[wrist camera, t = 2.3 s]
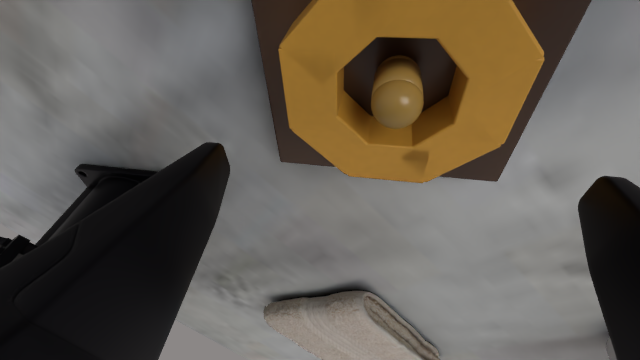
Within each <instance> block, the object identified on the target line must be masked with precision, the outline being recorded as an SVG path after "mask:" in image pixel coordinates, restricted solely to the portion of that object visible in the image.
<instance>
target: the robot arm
mask: <svg viewBox="0 0 640 360" xmlns="http://www.w3.org/2000/svg"><path fill="white" fill-rule="evenodd" d="M75 172H76V174H77V175H78V176H79V177H80V179H81V180H82V181H83V182H84V183H85V185H86V186H87V188H86V189H85V191H84V192H83V193H82V194H81V195H80V196H79V197H78V198H77V199H76V200H75V201H74V203H73V204H72V205H71V206H70V207H69V208H68V209H67V210H66V211H65V212H64V214H63V215H62V216H61V217H60V218H59V219H58V220H57V221H56V222H55V223H54V225H53V226H52V227H51V228H50V229H49V230H48V231H47V232H46V233H45V234H44V236H43V237H42V238H41V239H40V240H39V241H38V242H37V243H36V244H35V245H34V244H32V243H30V242H29V241H30V240H29V239H27V238H25V237H23V236H21V235H18V236H17V237H15V238H14V239H13V240H11V239H9V238H3V237H0V360H158V359H159V356H160V354H161V351H162V349H163V347H164V344H165V342H166V340H167V337H168V335H169V332H170V330H171V328H172V325H173V323H174V320H175V318H176V316H177V313H178V311H179V309H180V306H181V304H182V301H183V299H184V297H185V294H186V292H187V290H188V287H189V285H190V282H191V280H192V278H193V275H194V273H195V270H196V268H197V266H198V263H199V261H200V259H201V256H202V254H203V251H204V249H205V247H206V244H207V242H208V240H209V237H210V235H211V232H212V230H213V227H214V225H215V222H216V219H217V216H218V213H219V210H220V206H221V203H222V199H223V196H224V192H225V189H226V185H227V182H228V178H229V175H230V165H229V162H228V159H227V156H226V153H225V150H224V147H223V146H222V144H220V143H212V142H206V143H204V144H202V145H201V146H199V147H197V148H196V149H194V150H193V151H191V152H189V153H188V154H186V155H185V156H183V157H181V158H180V159H178V160H177V161H175V162H174V163H172V164H170V165H169V166H167V167H166V168H164V169H162V170H161V171H159V172H154V171H144V170H135V169H125V168H115V167H106V166H96V165H86V164H80V165H79V166H78V167H77V168H76V169H75ZM578 212H579V218H580V223H581V229H582V235H583V240H584V246H585V252H586V257H587V262H588V267H589V271H590V274H591V278H592V281H593V284H594V288H595V291H596V294H597V297H598V301H599V304H600V307H601V310H602V313H603V317H604V320H605V323H606V326H607V329H608V333H609V336H610V339H611V342H612V346H613V349H614V352H615V355H616V358H617V360H640V188H639V187H638V186H636V185H635V184H633V183H632V182H630V181H629V180H627V179H625V178H621V177H610V176H603V177H600V178H598V179H597V180H596V181H595V182H594V183H593V185H592V186H591V187H590V188H589V189H588V190H587V192H586V193H585V194H584V195H583V196H582V198H581V199H580V201H579V204H578Z"/></svg>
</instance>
